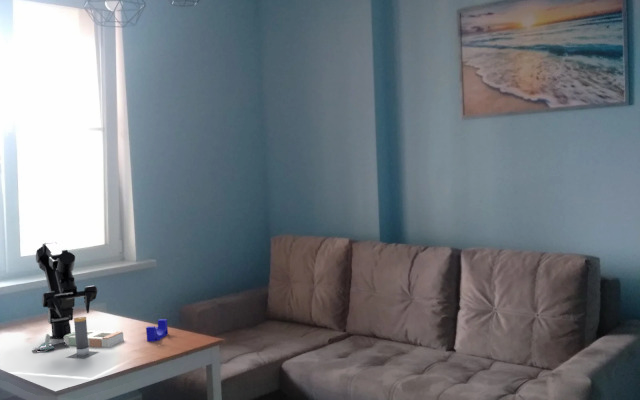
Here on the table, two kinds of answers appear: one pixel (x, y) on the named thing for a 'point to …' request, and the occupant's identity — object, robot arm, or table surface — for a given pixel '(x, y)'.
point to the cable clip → (157, 331)
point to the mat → (82, 356)
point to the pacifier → (46, 344)
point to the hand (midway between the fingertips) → (75, 314)
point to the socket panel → (97, 338)
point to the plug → (81, 336)
